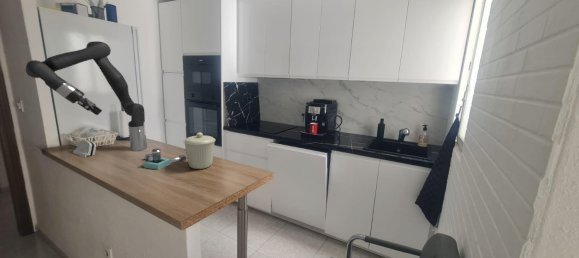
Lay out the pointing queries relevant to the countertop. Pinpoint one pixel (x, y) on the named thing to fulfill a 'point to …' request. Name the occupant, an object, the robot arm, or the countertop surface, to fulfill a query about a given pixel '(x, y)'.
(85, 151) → the hinge
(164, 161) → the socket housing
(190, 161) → the canister
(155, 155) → the coupler
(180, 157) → the shaft
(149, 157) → the shaft
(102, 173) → the countertop surface
